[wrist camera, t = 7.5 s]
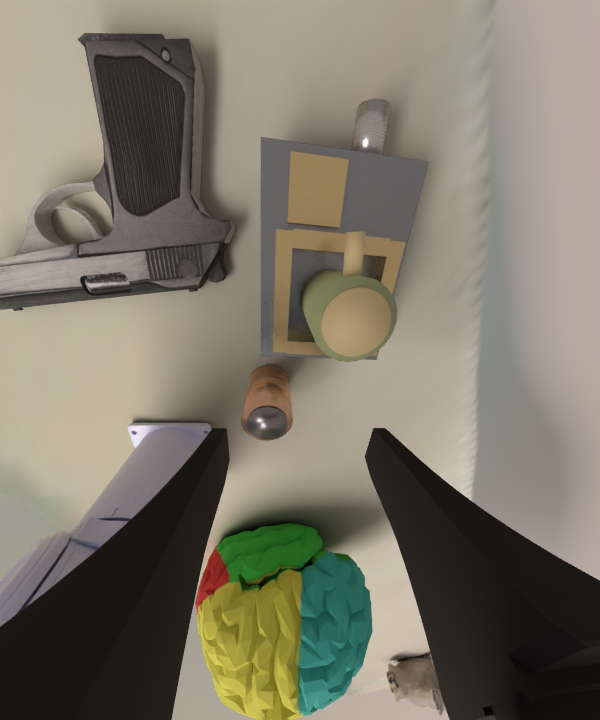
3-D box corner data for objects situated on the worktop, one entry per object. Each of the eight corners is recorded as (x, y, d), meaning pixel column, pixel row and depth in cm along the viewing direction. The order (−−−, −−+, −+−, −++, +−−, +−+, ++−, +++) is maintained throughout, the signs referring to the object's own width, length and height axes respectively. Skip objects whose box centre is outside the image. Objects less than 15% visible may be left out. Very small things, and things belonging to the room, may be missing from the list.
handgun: (-124, 85, 11) (26, 308, 17) (-201, 51, 10) (-5, 314, 15) (203, 59, 12) (247, 283, 17) (189, 24, 10) (243, 287, 15)
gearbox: (361, 343, 20) (384, 368, 15) (264, 339, 19) (259, 364, 14) (406, 135, 14) (469, 74, 9) (265, 112, 13) (257, 32, 8)
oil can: (352, 326, 15) (391, 362, 10) (300, 327, 15) (311, 366, 10) (362, 240, 13) (419, 229, 8) (300, 240, 13) (314, 228, 7)
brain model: (349, 497, 30) (396, 695, 16) (359, 558, 38) (395, 721, 25) (191, 521, 31) (116, 721, 18) (235, 575, 40) (205, 737, 26)
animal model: (463, 759, 56) (404, 762, 61) (466, 690, 75) (421, 696, 80) (426, 669, 66) (378, 677, 70) (437, 628, 85) (399, 637, 90)
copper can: (288, 397, 22) (292, 441, 17) (250, 398, 21) (242, 444, 16) (288, 364, 20) (293, 402, 15) (248, 365, 20) (238, 404, 14)
